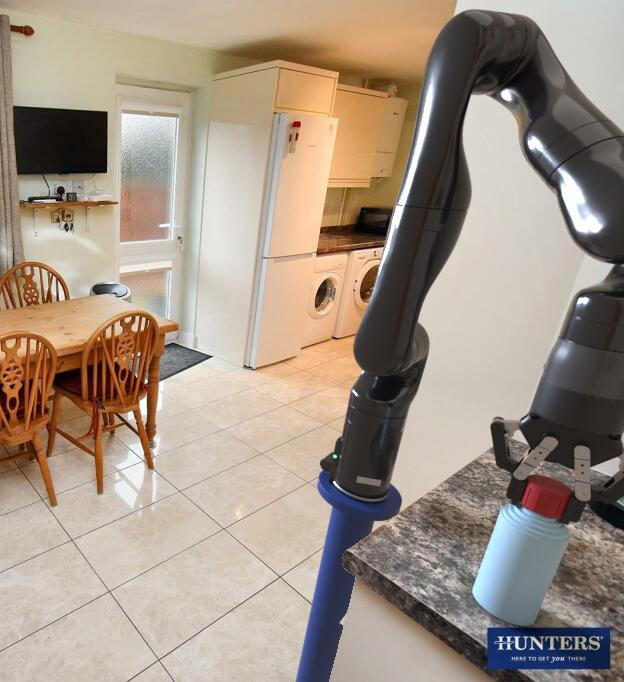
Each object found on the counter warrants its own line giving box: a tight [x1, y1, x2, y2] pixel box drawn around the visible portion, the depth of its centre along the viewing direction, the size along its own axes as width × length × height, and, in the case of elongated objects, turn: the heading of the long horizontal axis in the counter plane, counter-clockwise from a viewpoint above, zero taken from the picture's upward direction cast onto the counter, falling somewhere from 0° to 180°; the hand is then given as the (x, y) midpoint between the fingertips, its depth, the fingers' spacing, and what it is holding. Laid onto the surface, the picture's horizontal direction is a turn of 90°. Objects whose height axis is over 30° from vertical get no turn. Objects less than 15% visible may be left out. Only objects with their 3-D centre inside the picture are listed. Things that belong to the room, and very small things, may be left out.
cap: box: [520, 473, 573, 518], centre depth 53 cm, size 4×4×3 cm
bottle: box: [471, 502, 571, 627], centre depth 56 cm, size 6×6×18 cm
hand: (539, 511), depth 54 cm, fingers closed on cap, 4 cm apart
